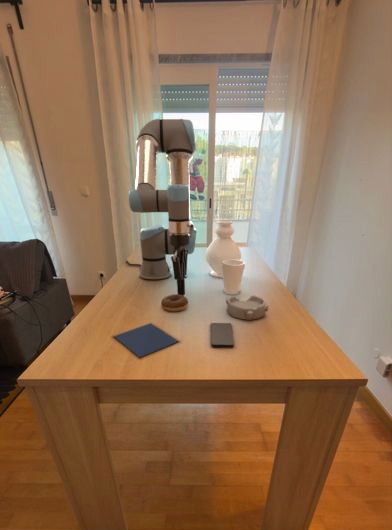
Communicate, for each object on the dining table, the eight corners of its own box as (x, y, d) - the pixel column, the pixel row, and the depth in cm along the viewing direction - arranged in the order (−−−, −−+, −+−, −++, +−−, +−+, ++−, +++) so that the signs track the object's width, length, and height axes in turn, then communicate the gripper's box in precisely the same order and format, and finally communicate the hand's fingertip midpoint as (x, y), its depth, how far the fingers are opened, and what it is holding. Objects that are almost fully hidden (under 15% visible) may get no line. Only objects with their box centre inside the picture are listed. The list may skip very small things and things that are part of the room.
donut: (189, 312, 107) (188, 302, 105) (161, 313, 106) (160, 303, 104) (187, 301, 116) (187, 292, 114) (161, 302, 115) (161, 293, 113)
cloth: (113, 337, 91) (113, 336, 91) (150, 324, 99) (150, 323, 99) (139, 358, 81) (139, 357, 81) (178, 341, 89) (178, 341, 88)
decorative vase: (230, 267, 156) (233, 218, 143) (245, 277, 142) (250, 223, 128) (200, 270, 151) (200, 219, 138) (212, 281, 137) (213, 225, 124)
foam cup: (241, 296, 120) (244, 266, 113) (219, 295, 122) (221, 264, 115) (242, 288, 128) (245, 259, 121) (222, 287, 130) (223, 258, 123)
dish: (220, 309, 109) (221, 297, 107) (251, 303, 114) (252, 291, 111) (240, 325, 98) (241, 311, 95) (273, 318, 103) (275, 305, 100)
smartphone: (230, 322, 98) (234, 345, 85) (230, 325, 98) (233, 347, 85) (210, 322, 98) (211, 344, 85) (210, 324, 98) (210, 347, 85)
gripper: (183, 237, 97) (184, 301, 109) (194, 230, 108) (194, 290, 120) (162, 236, 99) (166, 299, 111) (175, 229, 109) (178, 288, 122)
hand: (181, 294), depth 116 cm, fingers closed
